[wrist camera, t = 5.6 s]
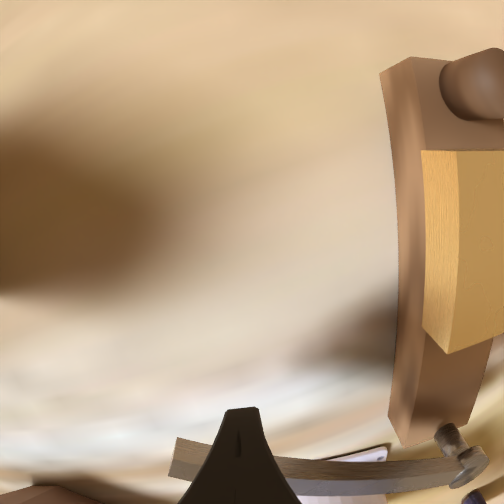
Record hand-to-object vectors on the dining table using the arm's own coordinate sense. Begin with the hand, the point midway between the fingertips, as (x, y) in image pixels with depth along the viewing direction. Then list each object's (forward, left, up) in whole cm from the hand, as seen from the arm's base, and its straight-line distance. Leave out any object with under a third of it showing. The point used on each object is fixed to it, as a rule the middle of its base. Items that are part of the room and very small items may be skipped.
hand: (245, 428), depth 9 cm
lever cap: (+4, -10, -3) cm, 11 cm away
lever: (-4, -4, -3) cm, 6 cm away
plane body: (+1, -10, -6) cm, 12 cm away
